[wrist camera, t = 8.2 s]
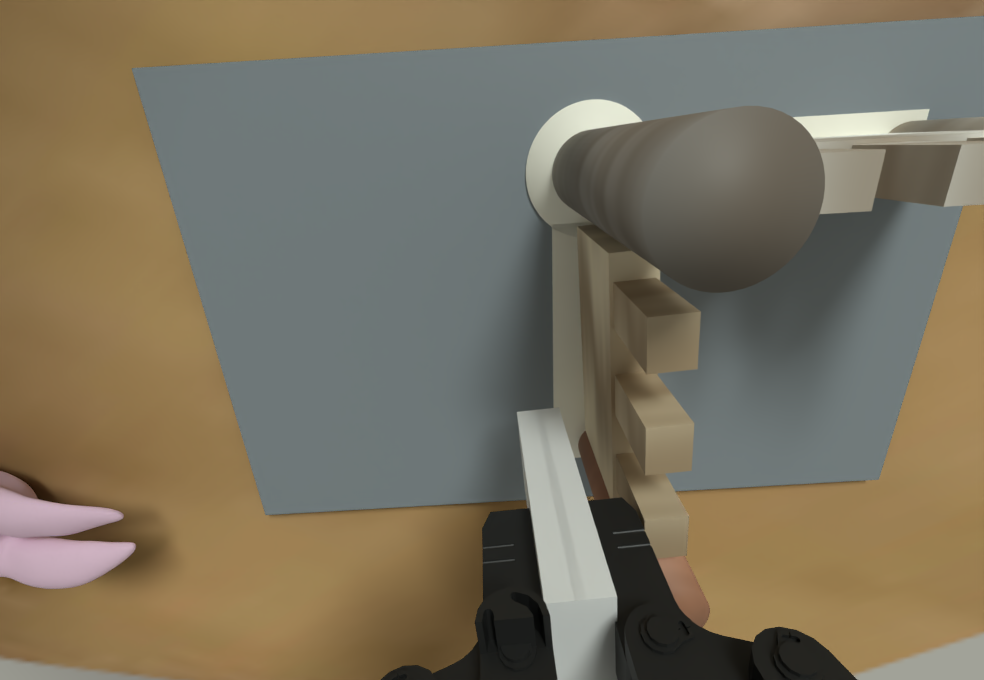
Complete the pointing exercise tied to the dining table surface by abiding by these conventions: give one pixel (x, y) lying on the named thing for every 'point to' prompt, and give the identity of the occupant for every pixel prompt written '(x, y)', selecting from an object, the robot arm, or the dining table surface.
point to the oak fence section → (638, 398)
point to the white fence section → (753, 185)
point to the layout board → (533, 255)
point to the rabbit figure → (52, 539)
